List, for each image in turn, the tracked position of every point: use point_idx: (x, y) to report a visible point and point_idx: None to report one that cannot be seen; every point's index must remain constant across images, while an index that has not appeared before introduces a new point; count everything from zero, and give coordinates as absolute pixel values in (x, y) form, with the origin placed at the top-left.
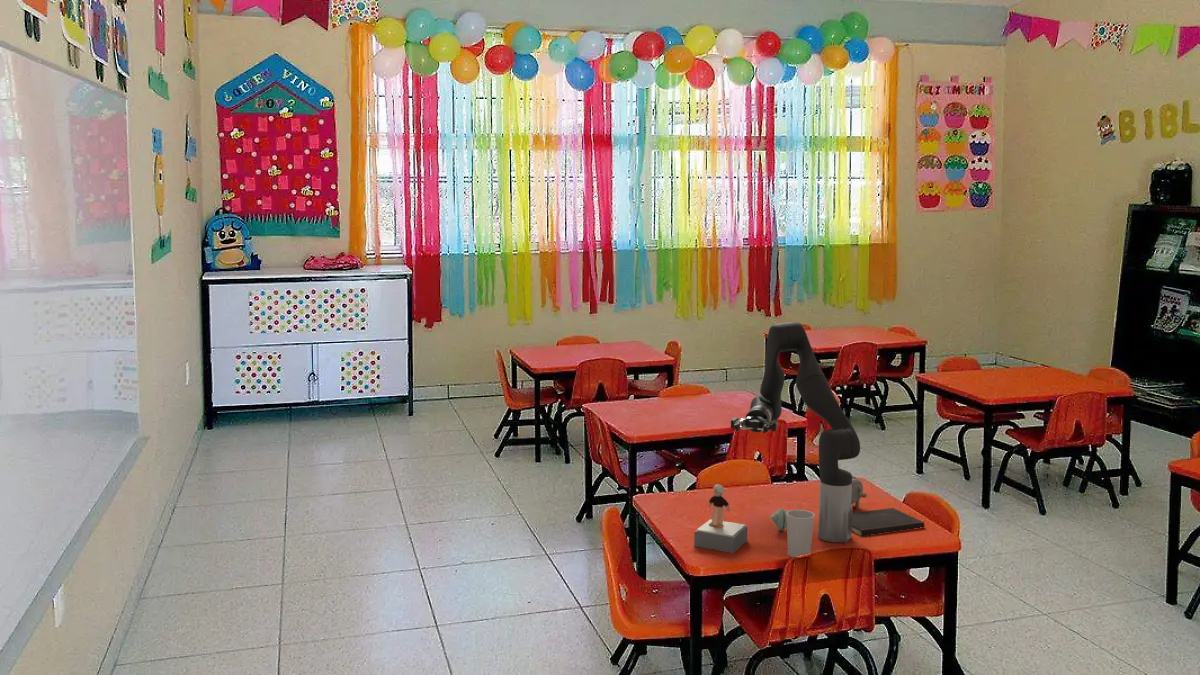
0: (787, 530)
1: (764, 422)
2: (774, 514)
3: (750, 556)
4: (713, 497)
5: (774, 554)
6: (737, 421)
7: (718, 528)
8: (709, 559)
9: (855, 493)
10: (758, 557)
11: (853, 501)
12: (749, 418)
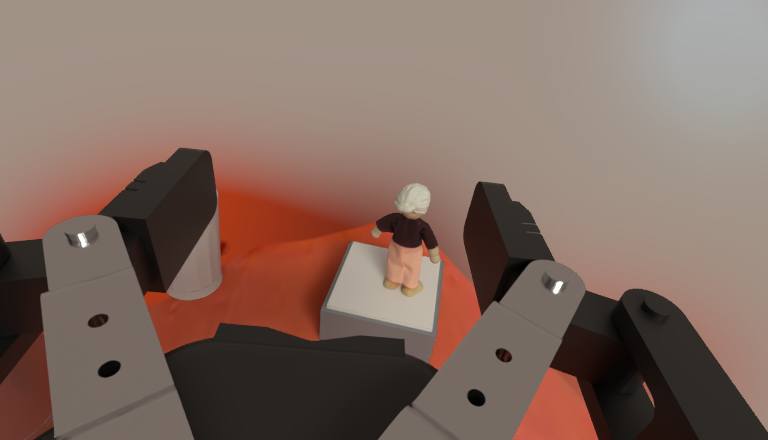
0: (217, 237)
1: (128, 260)
2: None
3: (310, 259)
4: (424, 221)
5: (255, 274)
6: (550, 262)
7: None
8: (388, 239)
9: None
10: (293, 257)
11: None
12: (418, 400)
